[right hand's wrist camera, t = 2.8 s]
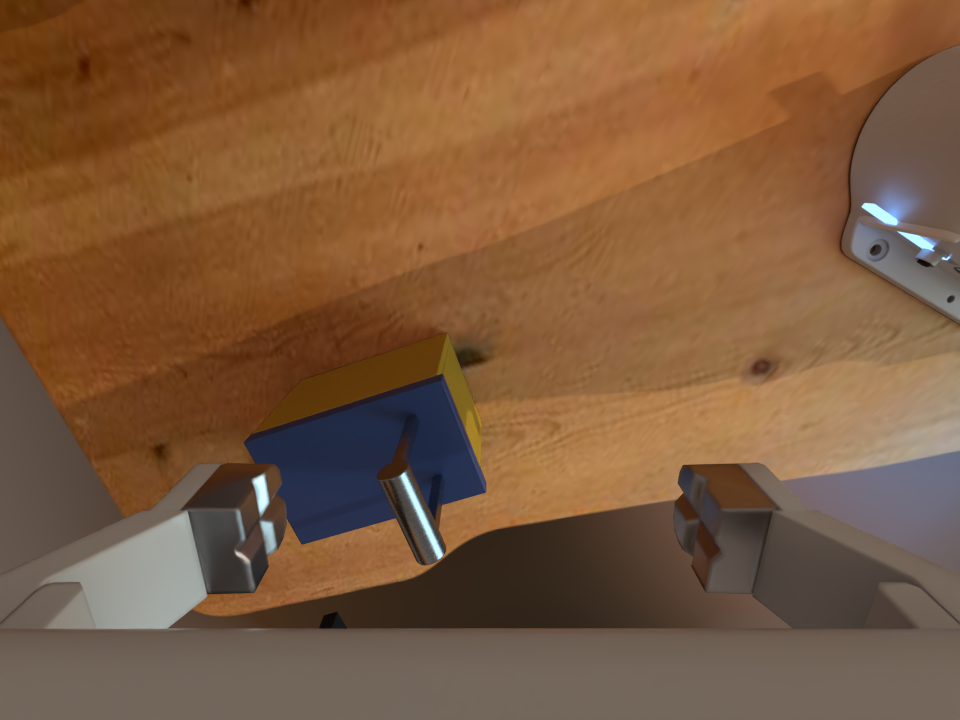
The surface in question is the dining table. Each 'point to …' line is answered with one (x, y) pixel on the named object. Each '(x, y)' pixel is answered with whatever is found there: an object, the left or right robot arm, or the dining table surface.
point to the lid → (375, 465)
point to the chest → (382, 384)
